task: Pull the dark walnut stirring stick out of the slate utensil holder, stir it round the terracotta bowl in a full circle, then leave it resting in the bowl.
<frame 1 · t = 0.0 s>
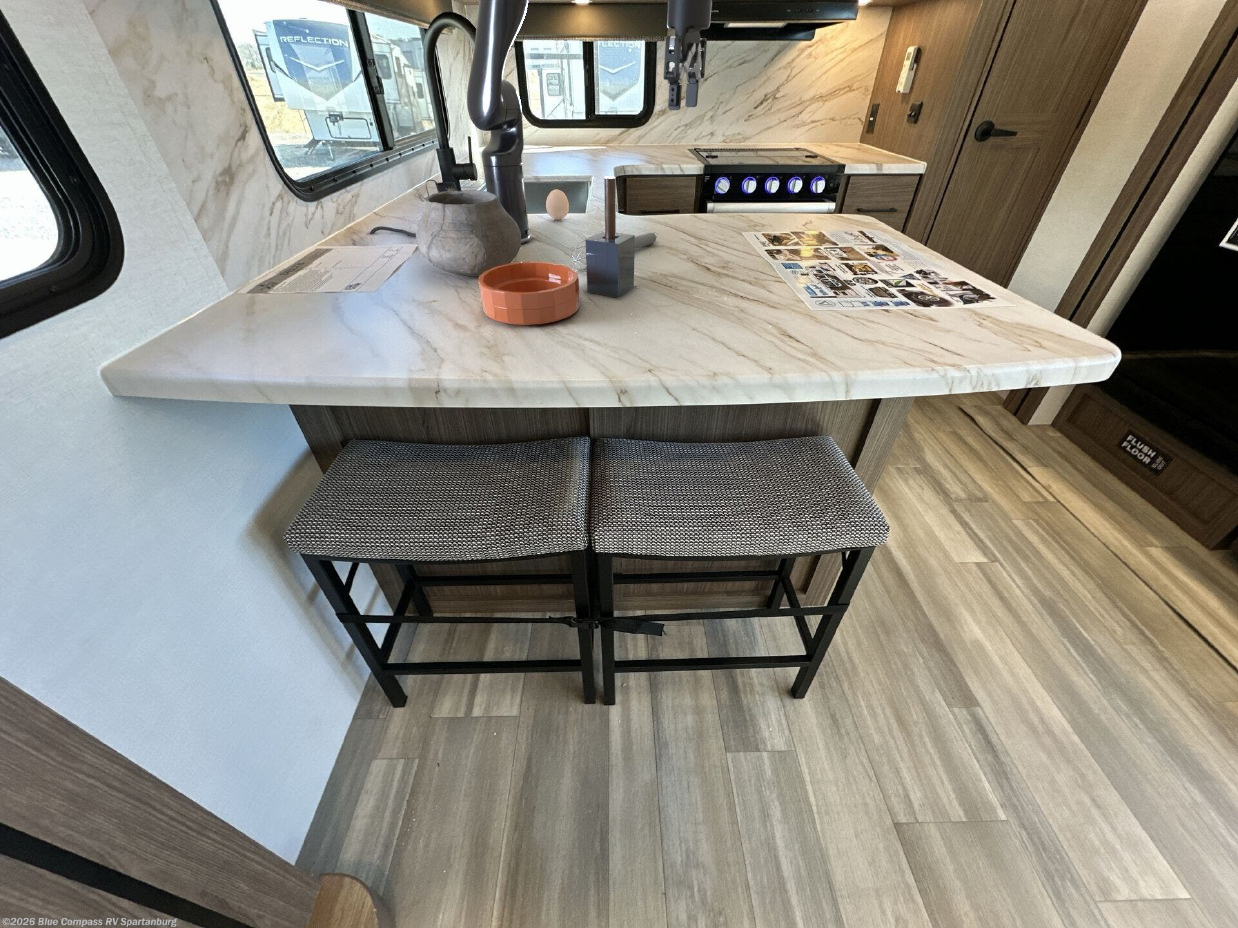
hand: (682, 108, 96), 29 cm above the countertop, tool pointing down, fingers open, 8 cm apart
kitchen whisk: (617, 258, 119), on the countertop
clay pot: (474, 272, 111), on the countertop
egg: (558, 220, 149), on the countertop
bowl: (532, 309, 94), on the countertop
utensil holder: (610, 289, 102), on the countertop
stirring stick: (610, 237, 96), in the utensil holder
mug: (450, 229, 140), on the countertop
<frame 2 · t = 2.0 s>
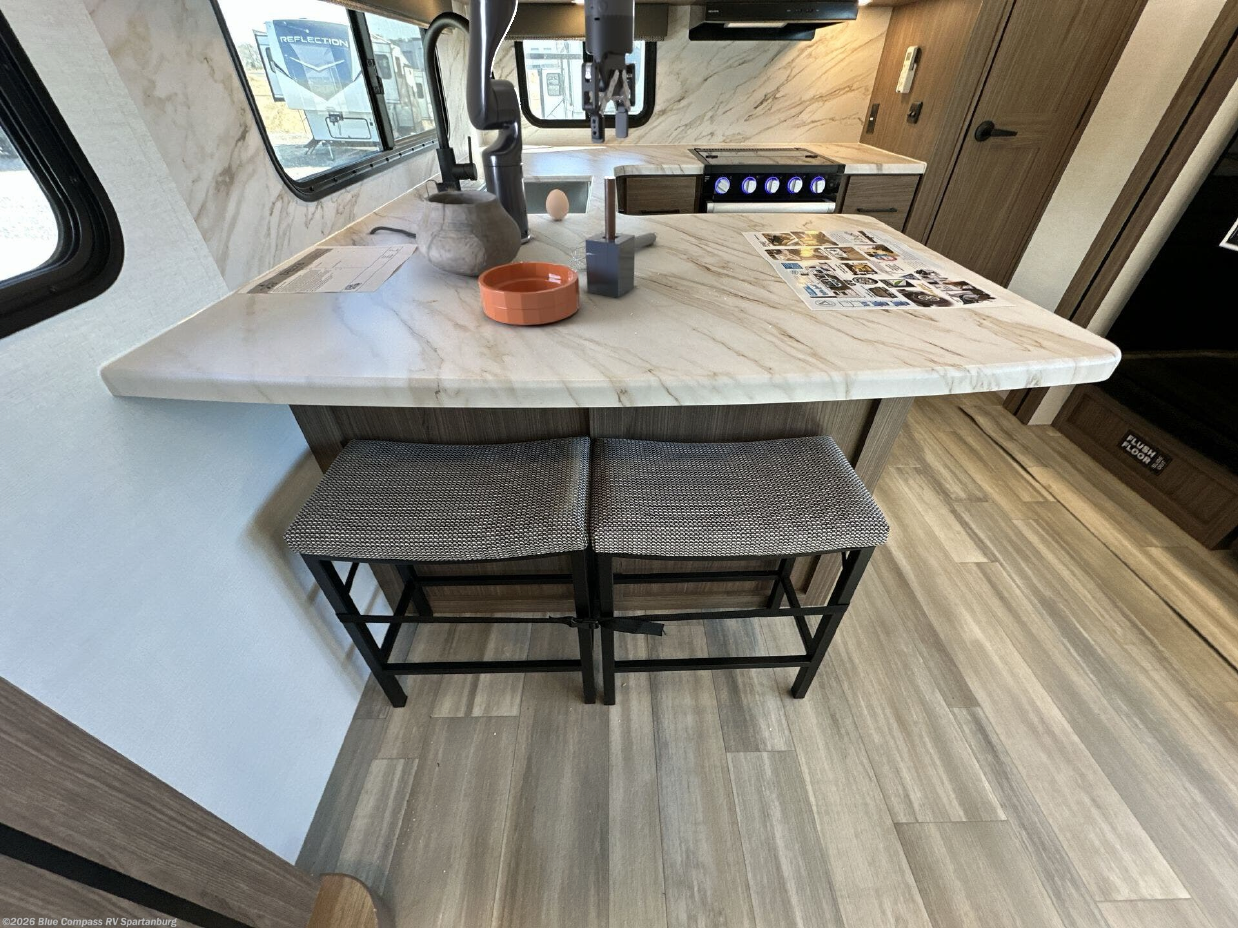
hand: (610, 140, 86), 26 cm above the countertop, tool pointing down, fingers open, 8 cm apart
nothing on the countertop moved.
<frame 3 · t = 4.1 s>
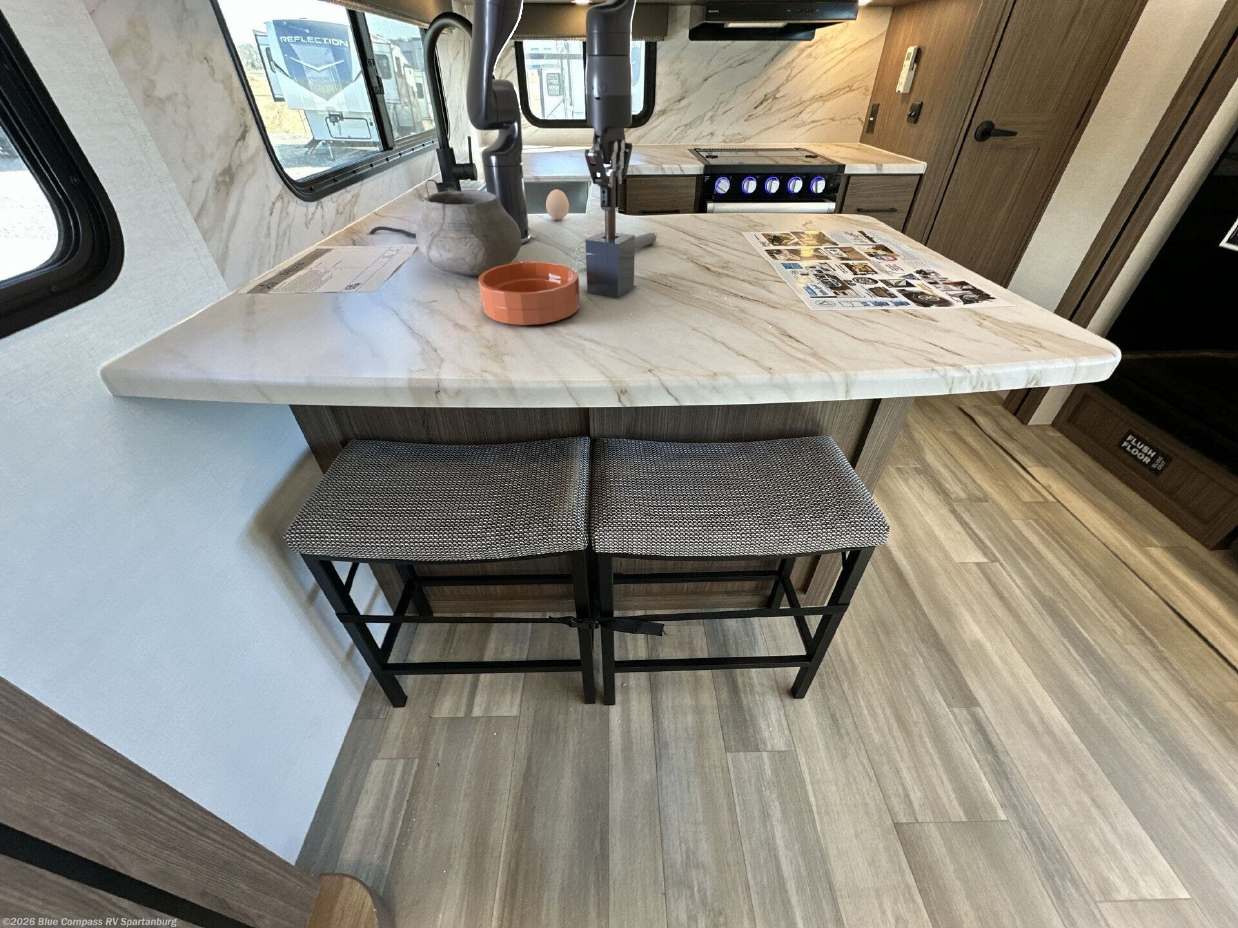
hand: (610, 208, 93), 15 cm above the countertop, tool pointing down, fingers closed on stirring stick, 2 cm apart
stirring stick: (610, 237, 96), in the utensil holder, touching gripper
everything else where it was.
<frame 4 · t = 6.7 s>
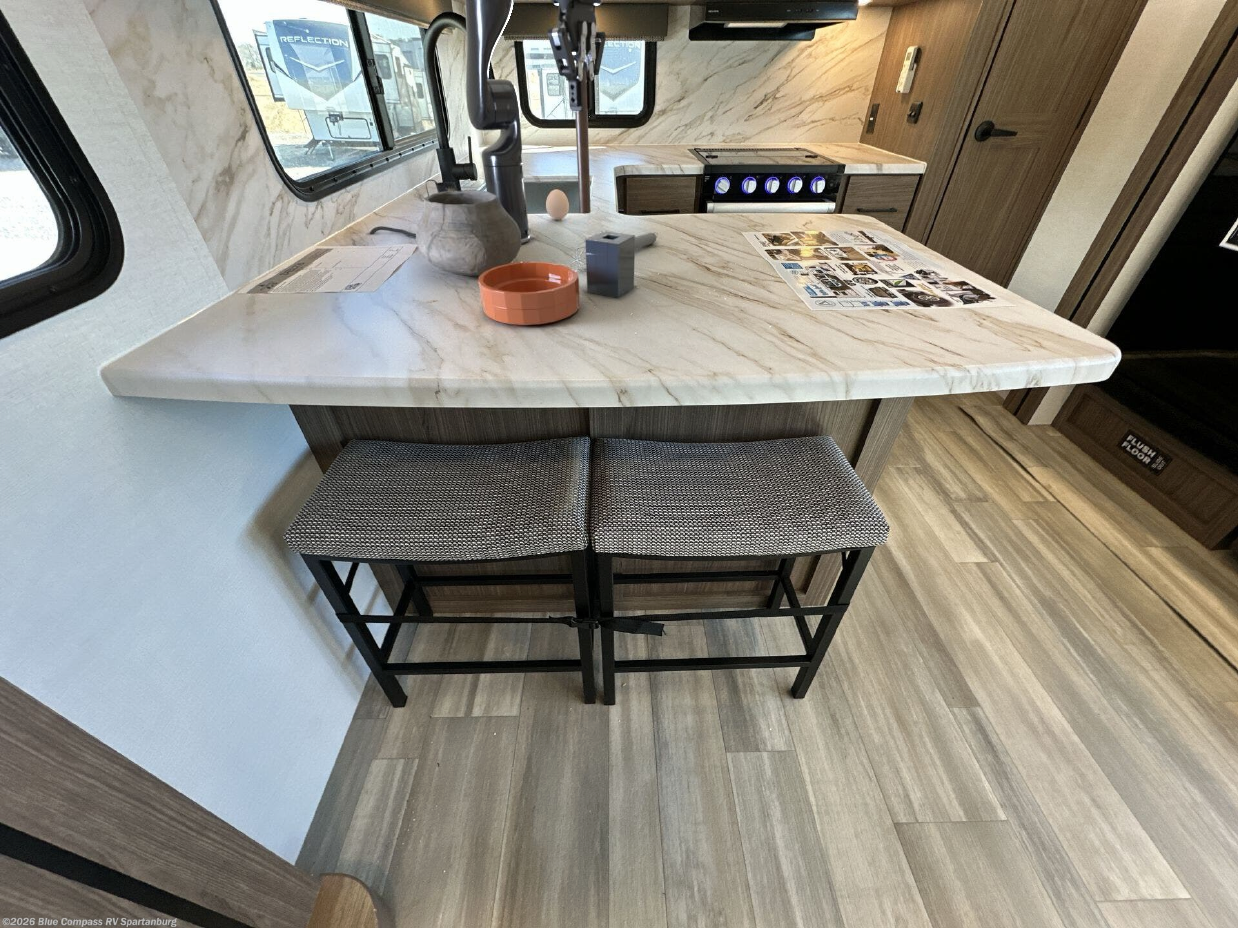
hand: (581, 110, 81), 30 cm above the countertop, tool pointing down, fingers closed on stirring stick, 2 cm apart
stirring stick: (582, 147, 84), point 25 cm above the countertop, touching gripper
everything else where it was.
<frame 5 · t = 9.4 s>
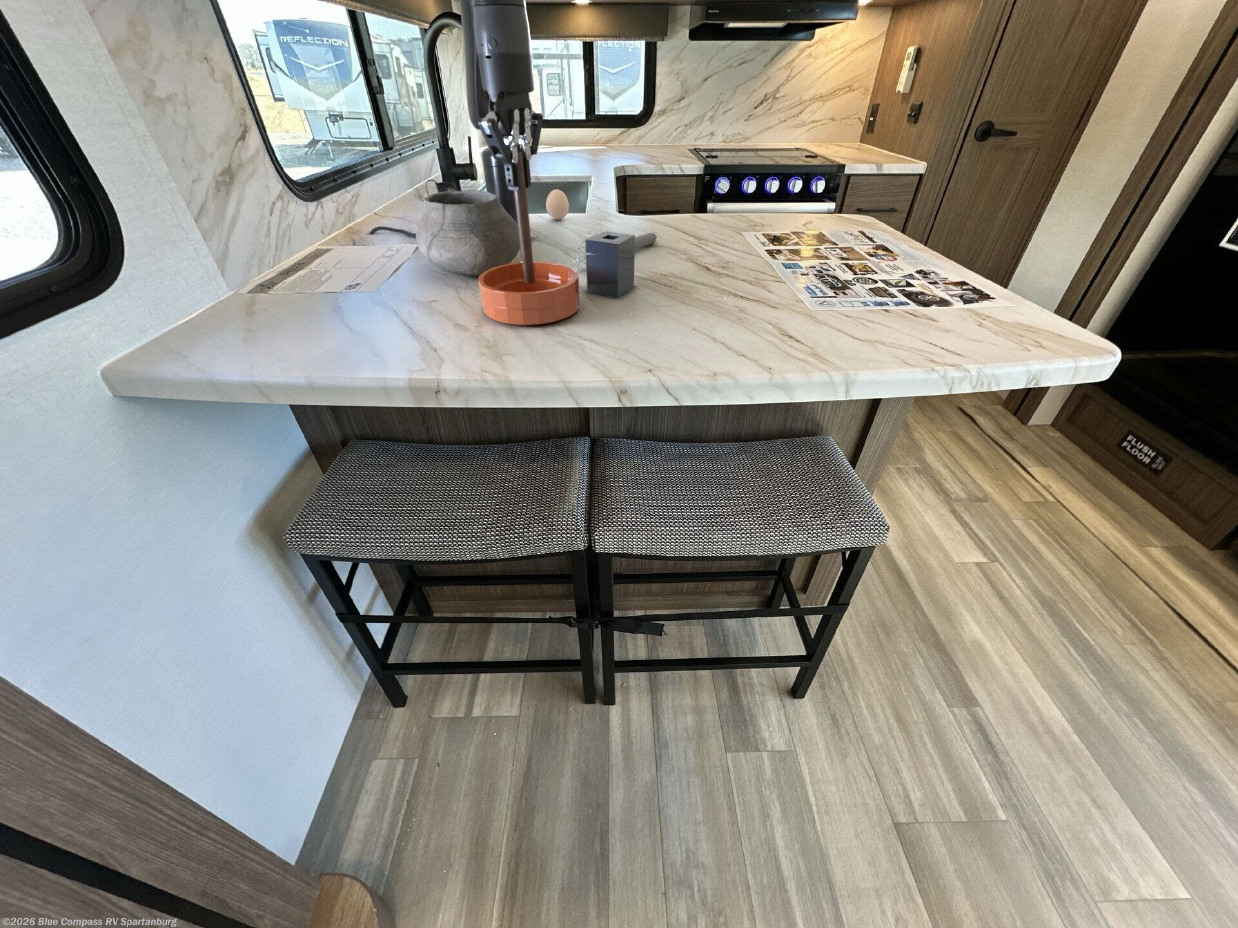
hand: (519, 188, 82), 20 cm above the countertop, tool pointing down, fingers closed on stirring stick, 2 cm apart
stirring stick: (523, 222, 85), point 15 cm above the countertop, touching gripper
everything else where it was.
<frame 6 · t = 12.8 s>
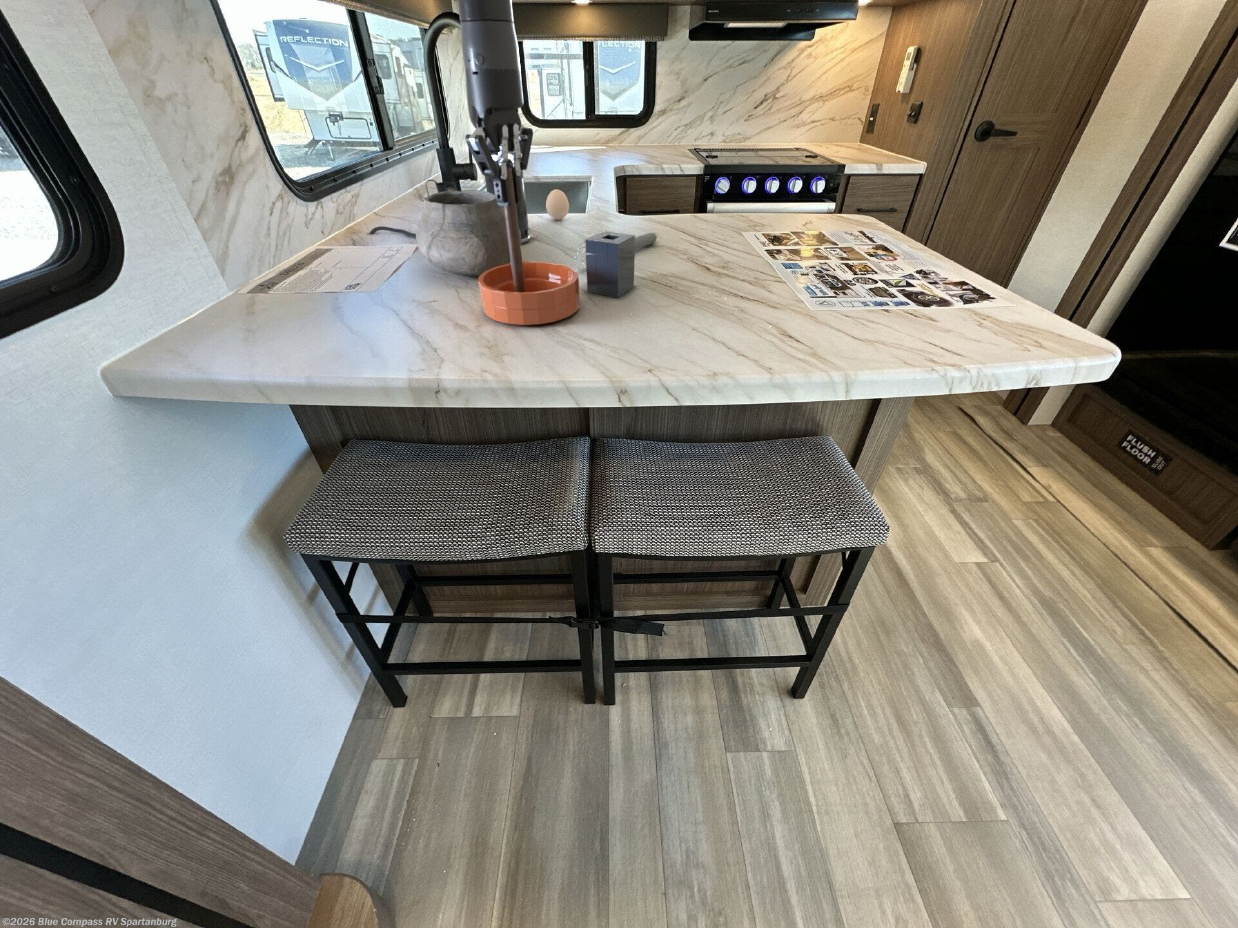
hand: (509, 204, 80), 18 cm above the countertop, tool pointing down, fingers closed on stirring stick, 2 cm apart
stirring stick: (513, 237, 83), point 13 cm above the countertop, touching gripper
everything else where it was.
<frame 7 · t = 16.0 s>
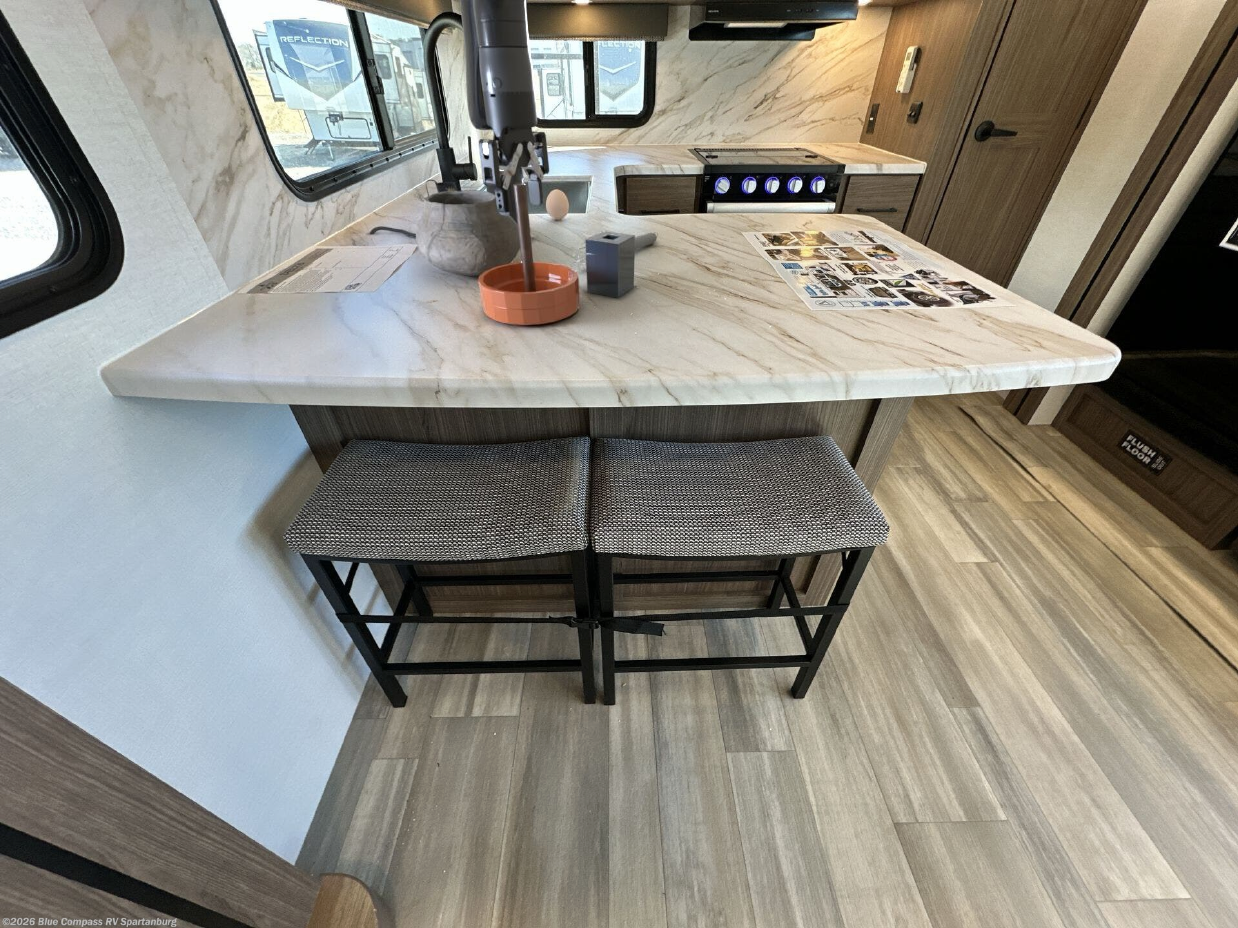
hand: (521, 210, 83), 17 cm above the countertop, tool pointing down, fingers open, 8 cm apart
stirring stick: (526, 249, 87), in the bowl, point 11 cm above the countertop
everything else where it was.
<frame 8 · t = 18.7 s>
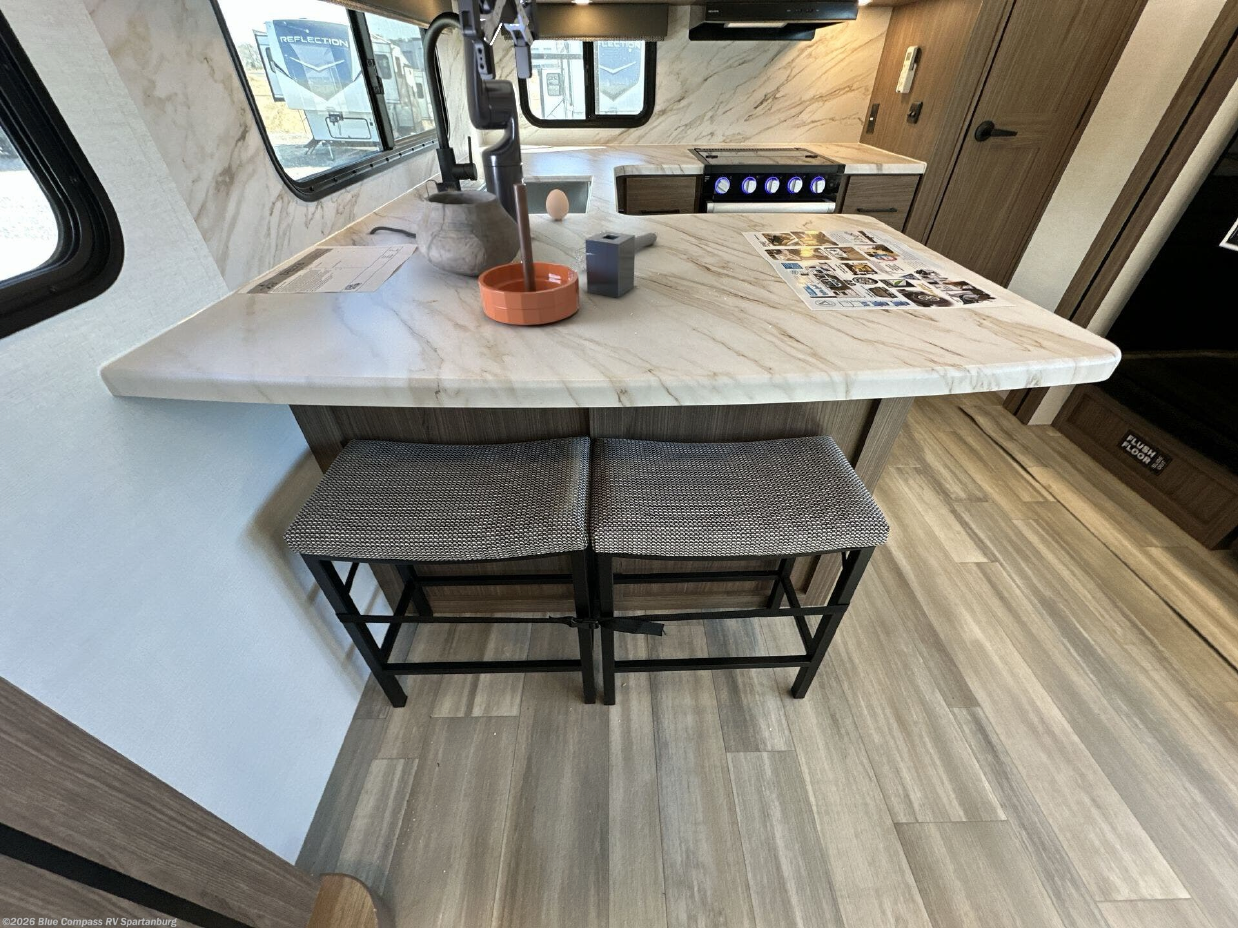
hand: (507, 79, 73), 34 cm above the countertop, tool pointing down, fingers open, 8 cm apart
nothing on the countertop moved.
at the end: stirring stick inside the target area in the bowl (0.1 cm from its centre), point 10.6 cm above the bowl's base; the gripper is holding nothing; stirring stick moved 17.8 cm from its start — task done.
